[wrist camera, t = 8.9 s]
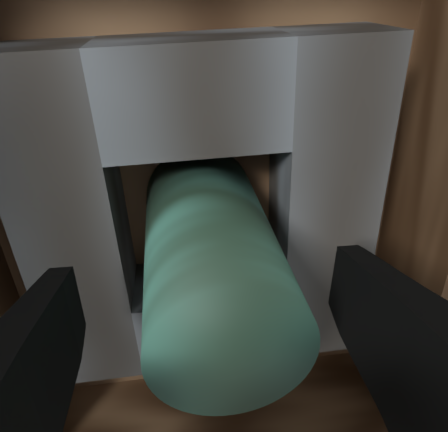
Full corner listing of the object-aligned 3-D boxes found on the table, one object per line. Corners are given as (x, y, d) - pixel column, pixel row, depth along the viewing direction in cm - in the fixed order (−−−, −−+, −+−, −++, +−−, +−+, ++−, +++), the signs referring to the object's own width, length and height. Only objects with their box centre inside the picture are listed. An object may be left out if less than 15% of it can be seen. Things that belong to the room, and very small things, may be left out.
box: (37, 402, 21) (4, 507, 17) (-196, -172, 10) (-454, -285, 6) (374, 358, 23) (422, 444, 18) (484, -178, 12) (664, -269, 8)
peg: (153, 243, 17) (152, 427, 10) (140, 150, 15) (127, 299, 8) (249, 233, 17) (313, 402, 10) (249, 142, 15) (328, 275, 8)
